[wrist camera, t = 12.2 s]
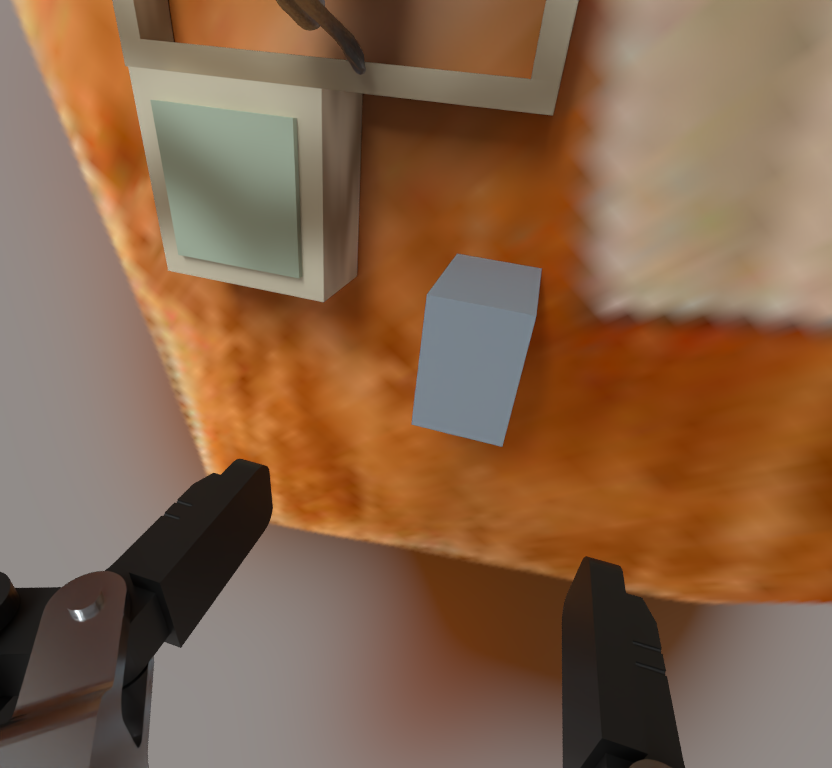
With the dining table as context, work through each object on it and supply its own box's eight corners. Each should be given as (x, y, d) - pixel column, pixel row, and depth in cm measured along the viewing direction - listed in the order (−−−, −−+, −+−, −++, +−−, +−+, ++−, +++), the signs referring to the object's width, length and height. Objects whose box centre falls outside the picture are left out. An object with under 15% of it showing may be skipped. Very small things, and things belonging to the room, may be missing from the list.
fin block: (457, 253, 22) (426, 294, 17) (541, 268, 21) (536, 315, 16) (441, 362, 25) (411, 424, 20) (514, 378, 24) (502, 446, 19)
